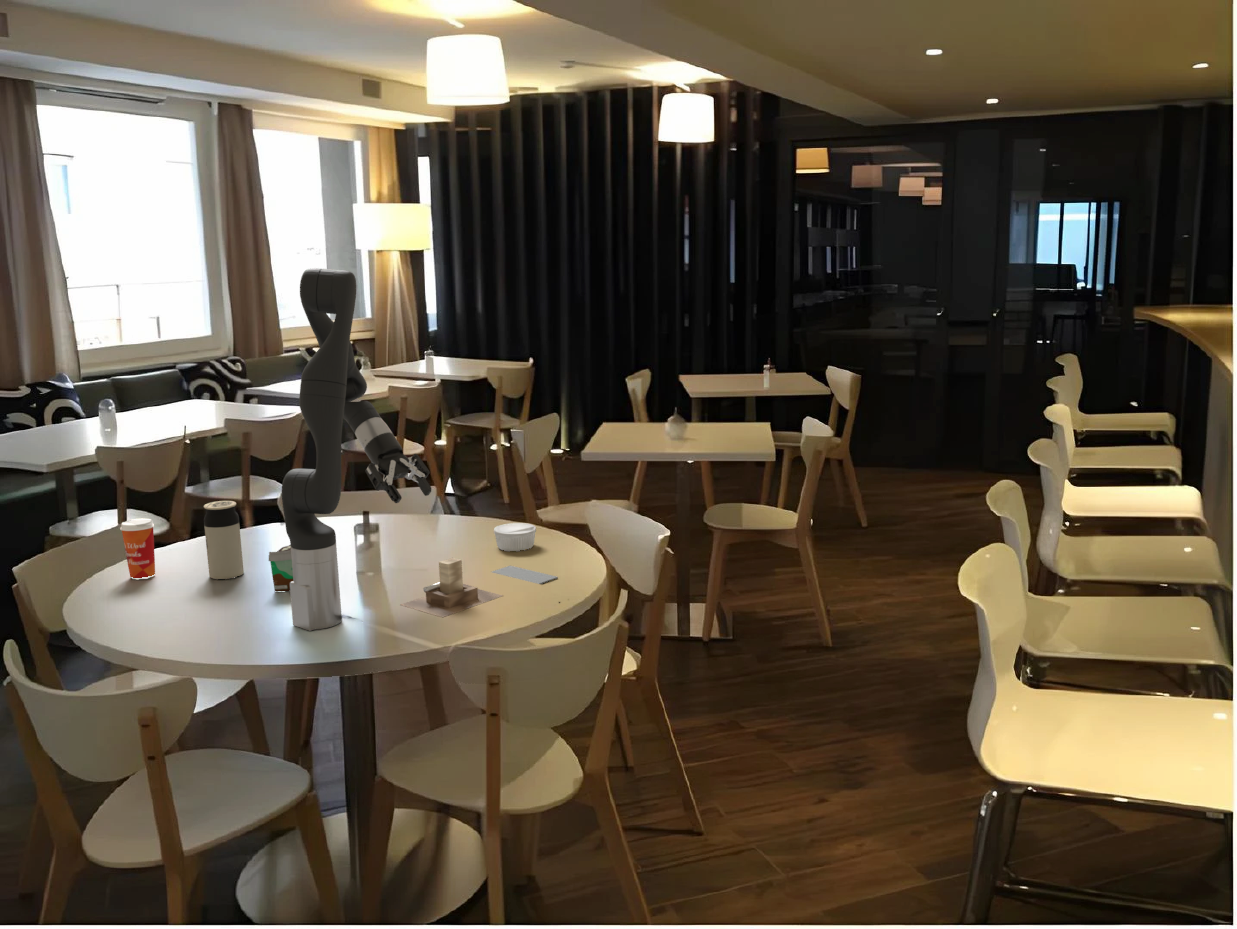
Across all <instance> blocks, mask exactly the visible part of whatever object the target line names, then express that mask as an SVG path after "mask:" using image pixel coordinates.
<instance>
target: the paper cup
mask: <svg viewBox="0 0 1237 929" xmlns="http://www.w3.org/2000/svg"><path fill="white" fill-rule="evenodd" d="M153 522H154V521H153V519H151V518H142V517H141V518H135V519H134V518H133V519H129V520H126V521H122V522H121V525H120V528H119V529H120V531H121V533H122V539H123V544H124V551H125V555H126V562H127V567H128V571H129V572H128V574H129V577H133V578H142V577H148V576H152V575H154V574H155V575H156V559H155V538H154V536H155V535H154V534H155V533H154V527H155V524H154V523H153Z"/></svg>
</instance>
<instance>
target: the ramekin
mask: <svg viewBox="0 0 1237 929" xmlns="http://www.w3.org/2000/svg"><path fill="white" fill-rule="evenodd" d="M536 533H537V527H536V525H534V524H532V523H527V522H526V523H525V522H512V523H509V522H508V523H504V524H500V525H496V526H495V527H494V529H493V534H494V537H495V542H496V546H497V548H498V549H499V550H500V551H503V550H504V552H510V551H516V552H521V551H520V550H524V551H526V550H525V549H528V550H530V549H532V547H533V546H534V544H535V538H536ZM529 548H530V549H529Z"/></svg>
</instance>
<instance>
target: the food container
mask: <svg viewBox="0 0 1237 929" xmlns="http://www.w3.org/2000/svg"><path fill="white" fill-rule="evenodd" d="M268 562H270V569H271V574H272V576H271V577H272V580H273V581H272V582H273V588H274V592H275V591H289V592H290V582H292V581H293V569H292V556H291V545H290V544H289V545H285V546H282V547H281V548H280V549H278V550H277V551H269V552H268Z"/></svg>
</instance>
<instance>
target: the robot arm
mask: <svg viewBox="0 0 1237 929" xmlns="http://www.w3.org/2000/svg"><path fill="white" fill-rule="evenodd" d="M299 298H300V302H301V305H302V308H303V311H304V313H305V316H306V318H307V320H308V322H309V325H310V328H311V330H312V332H313V334H314V336H315V338H316V341H317V343H318V347H319V348H318V349H317V351H315V353H314V354H313V355H312V357H311V358H310V360H309V361H307V364H306V365H305V366H304V368H303V371H302V373H301V377H300V386H299V399H298V404H299V409H300V412H301V414H302V416H303V419H304V421H305V423H306V425H307V427H308V430H309V432H310V433H311V436H312V438H313V441H314V444H315V450H316V465H315V469H314V468H293V469H290V470H289V471H288V472H287V473H286V474H285V475H284V477H283V480H282V482H281V483H282V484H281V504H282V511H283V516H284V517H283V518H284V523H285V524H284V525H285V532H286V534H287V536H288V538H289V541H290V542H289V543H290V544H289V545H291V556H292V569H293V581H292V582H290V591H289V594H290V595H289V596H290V603H291V604H290V606H291V618H292V626H295V627H298V628H300V629H303V630H306V631H313V630H320V629H321V630H322V629H328V628H331V627H335V626H337V625H338V624H340V623H341V622H342V620H343V616H342V614H343V613H342V605H341V604H342V602H341V591H340V589H341V587H340V577H339V576H340V575H339V565H338V564H339V562H338V552H337V551H338V550H337V549H338V548H337V536H336V535H337V534H336V531H335V529H334V528H333V527H331V526H330V525H327V524H325V523H324V522H323V521H321V520H320V519H319V518H317V516H316V515H330V514H332V513H334V512H335V510H336V509H337V507H338V506H339V503H340V500H341V493H342V440H343V439H342V437H343V424H344V423H343V422H344V420H345V421H346V422H347V424H348V426H349V427H350V429H351V430H352V432H353V433H354V435H355V437H356V439H357V441H358V444H359V445H360V446H361V448H362V449H363V451H364V453H365V454H366V456H367V457H368V459H369V460H370V461H369V462H370V463H369V464H368V466H367V468H366V469H365V473H366V475H367V477H368V478H369V480H370V483H371V484H372V485H373V487H374V490H376V491H382V490H383V491H384V492H386V494H387V495H388V497H389V499H391V501H392V502H393V503H395V504H398V503H400V501H401V500H402V495H401V494H400V492H399V490H398V489H397V487H396V486H395V485H394V484H393V481H396V480H398V479H404V478H405V479H406V480H412V481H413V482H416V484H417V487H418V488H419V489H420V491H421V492H422V494H423V495H424V496H425V497H427V496H429V495H431V492H432V487H431V485H430V483H429V482H428V480H427V477H429V474H430V473H431V472H430V470H429V468H428V466H426V464H425V463H424V461H423V460H422V458H421V457H420V456H419V455H418V453H414V454H413V455H412V456H409V457H408V456H406V455H405V454H404V452H403V448H402V445H401V444H400V442H399V441H398V439H397V438H396V436H395V435H394V433H393V431H392V430H391V429H390V427H389V426H388V424H387V423H386V422H385V421H384V420H383V418H382V417H381V416H380V414H379V413H378V411H377V409H376V407H375V406H374V405H373V404H372V403H371V401H369V400H360V401H355V400H358V399H359V398H362V397H363V396H364V395H365V394H366V392H367V390H368V384H367V380H366V378H365V377H364V376H363V374H362V373H361V371H360V370H359V369H358V368H359V367H357V364H356V361H355V360H356V359H355V354H354V348H353V344H352V342H351V333H352V326H353V321H354V320H353V319H354V314H355V308H356V307H355V306H356V298H357V279H356V276H355V274H354V273H353V272H352V271H350V270H342V269H329V268H319V267H318V268H316V267H314V268H307V269H306V270H304V271H303V273H302V275H301V278H300V284H299ZM328 314H331V315H335V318H334V321H333V320H332V318H331V317H330V316H329V315H328ZM353 401H354V402H353ZM409 471H410V473H409ZM381 474H382V475H383V477H382V475H381Z"/></svg>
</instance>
